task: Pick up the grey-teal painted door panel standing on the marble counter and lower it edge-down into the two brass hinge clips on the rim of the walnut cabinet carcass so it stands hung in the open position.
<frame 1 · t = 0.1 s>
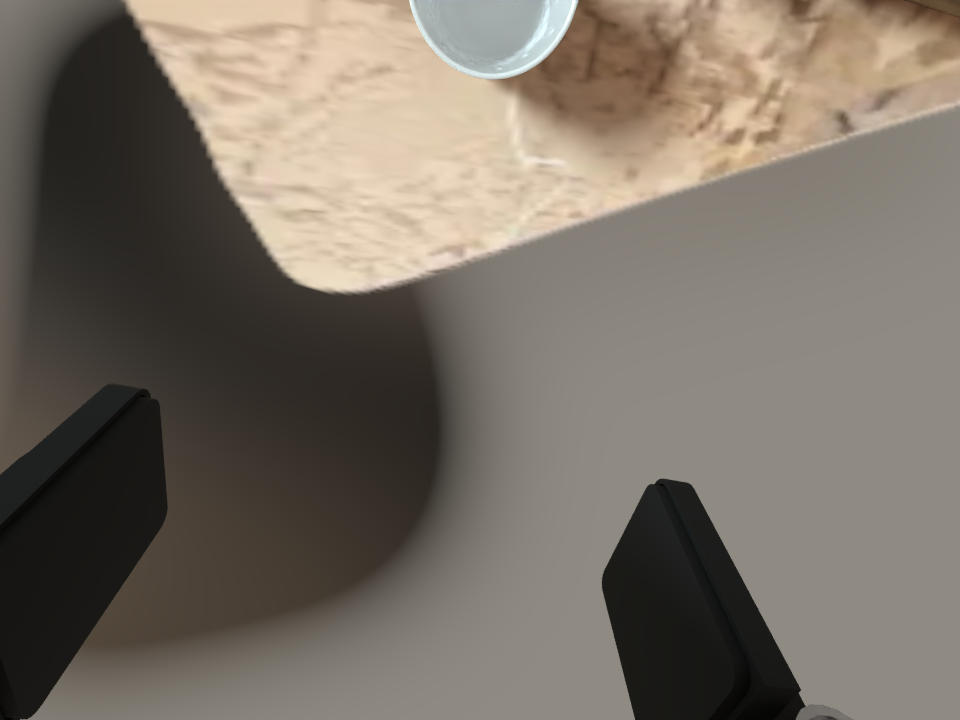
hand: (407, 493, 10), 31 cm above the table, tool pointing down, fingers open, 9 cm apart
white cup: (487, 4, 32), on the table
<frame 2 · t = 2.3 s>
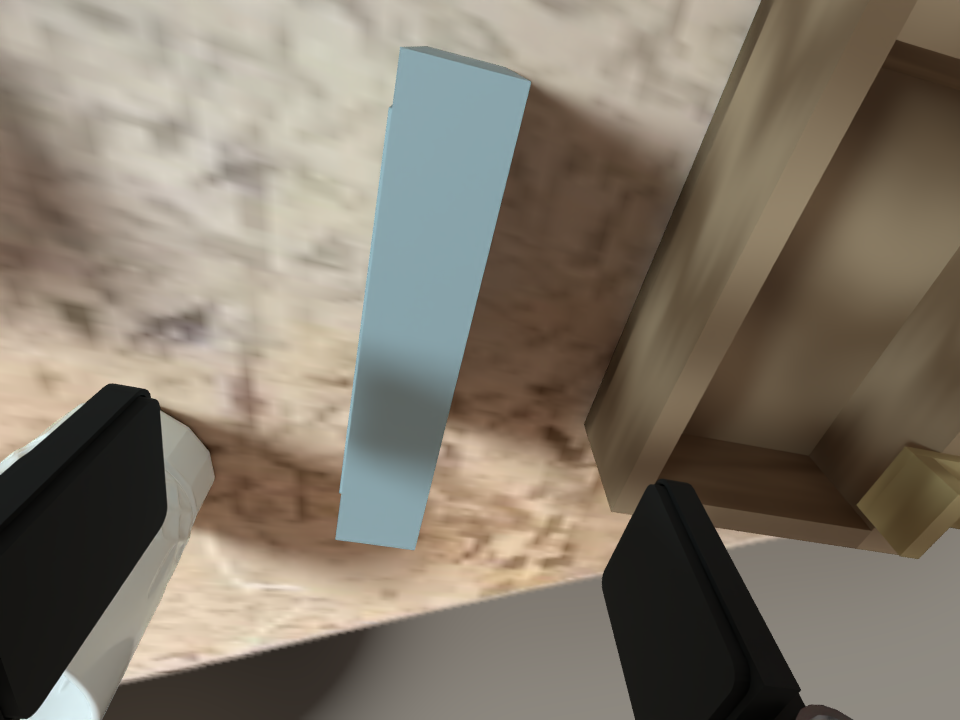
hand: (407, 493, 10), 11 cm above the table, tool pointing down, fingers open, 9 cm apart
carcass: (802, 286, 20), on the table
white cup: (140, 455, 24), on the table
door: (428, 258, 19), on the table
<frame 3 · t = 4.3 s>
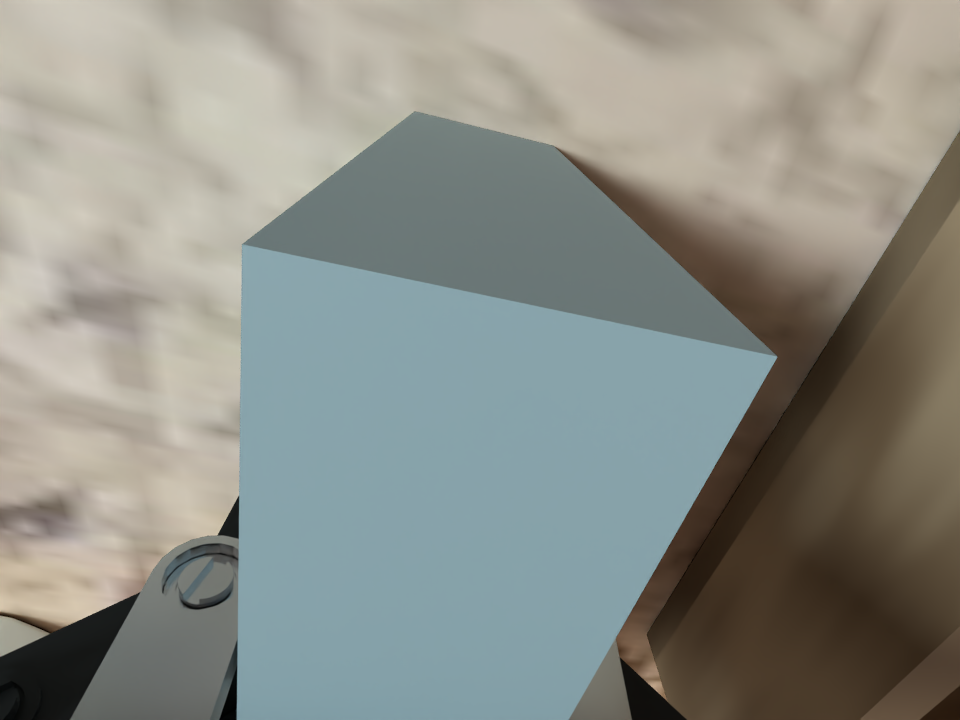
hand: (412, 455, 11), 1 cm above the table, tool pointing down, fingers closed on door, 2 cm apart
white cup: (2, 668, 16), on the table
door: (419, 432, 12), on the table, touching gripper
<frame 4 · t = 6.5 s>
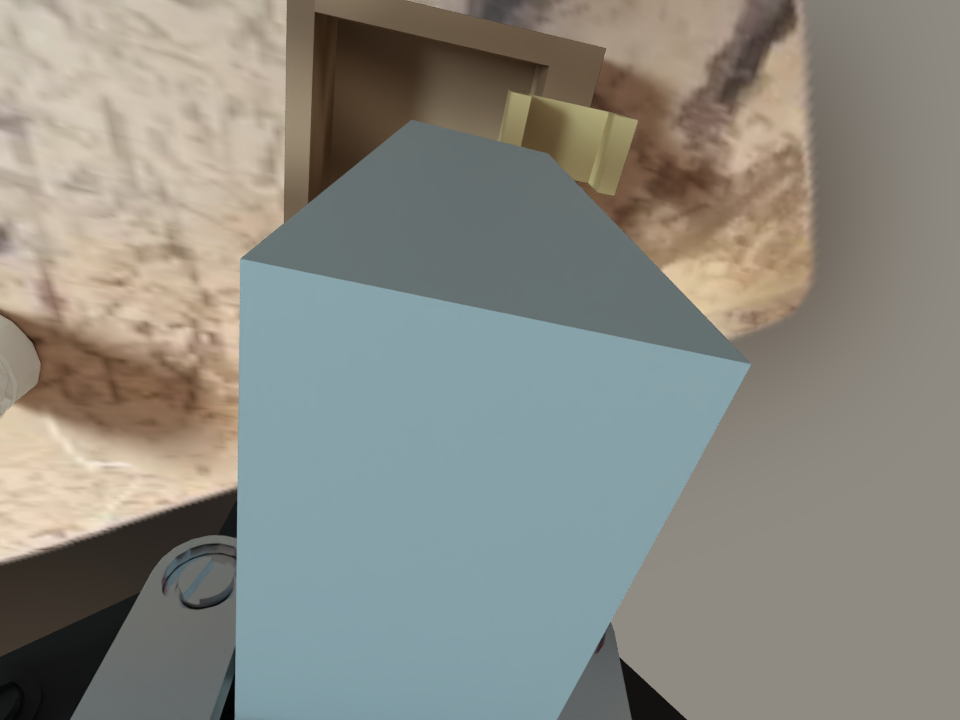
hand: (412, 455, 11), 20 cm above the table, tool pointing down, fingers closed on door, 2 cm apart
carcass: (428, 196, 28), on the table
door: (416, 436, 12), point 19 cm above the table, touching gripper
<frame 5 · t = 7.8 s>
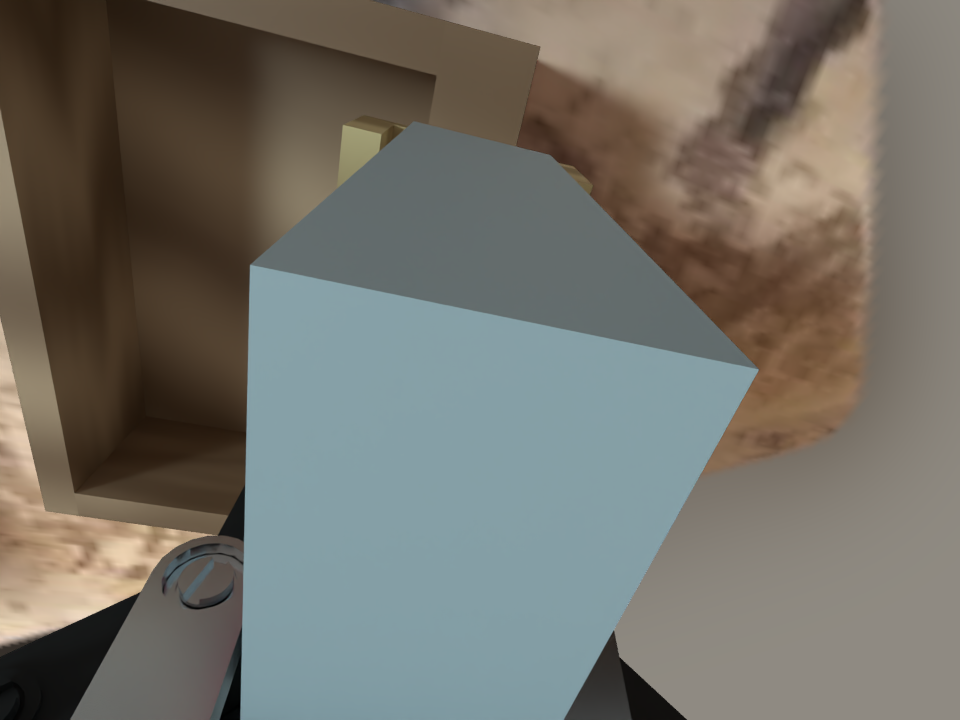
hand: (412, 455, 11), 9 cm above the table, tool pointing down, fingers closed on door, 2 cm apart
carcass: (294, 266, 18), on the table
door: (418, 437, 12), point 8 cm above the table, touching gripper
when the fingers open (7 cm above the table, at t = 8.7 s): door stays where it is, resting on carcass.
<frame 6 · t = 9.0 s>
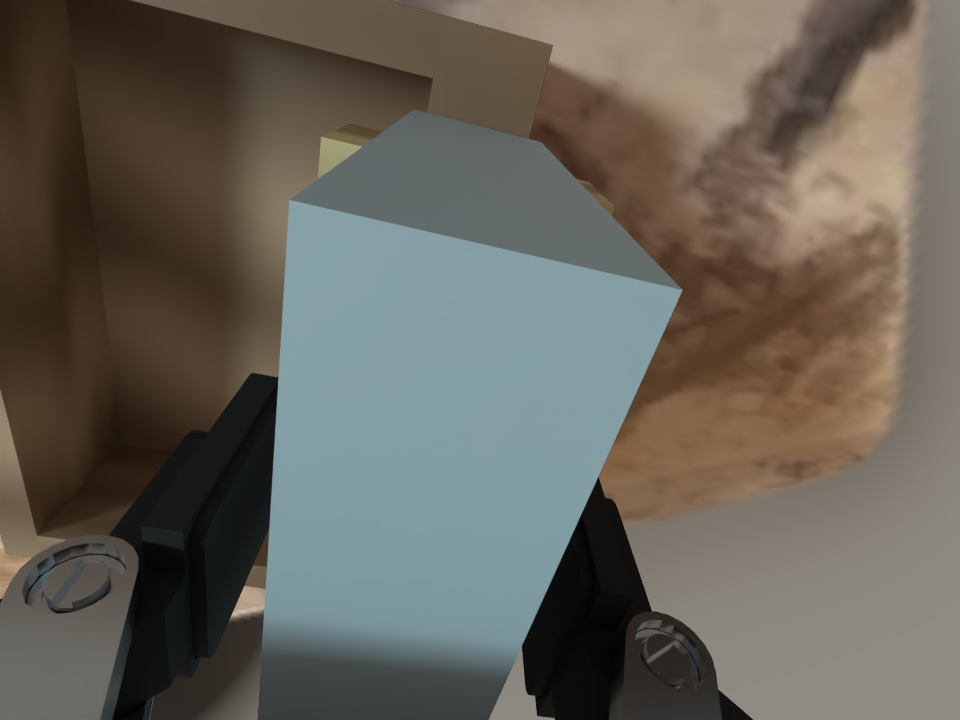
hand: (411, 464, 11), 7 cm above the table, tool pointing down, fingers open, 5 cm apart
carcass: (279, 285, 17), on the table
door: (416, 410, 13), point 5 cm above the table, touching carcass
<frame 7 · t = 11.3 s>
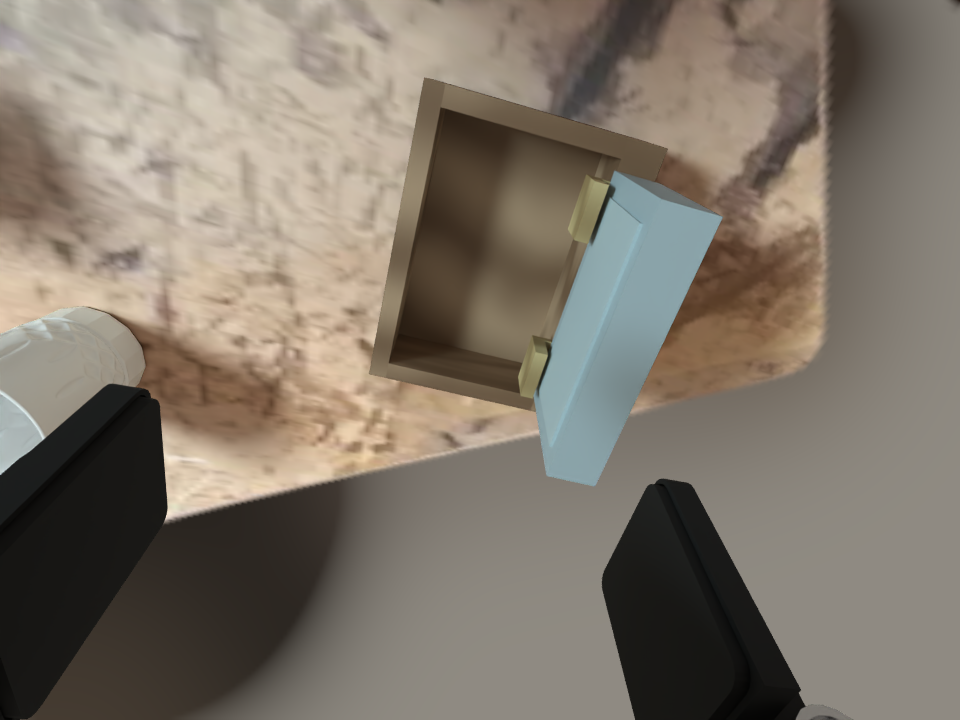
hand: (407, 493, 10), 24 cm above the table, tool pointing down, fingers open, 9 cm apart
carcass: (500, 248, 33), on the table
white cup: (98, 349, 36), on the table
door: (590, 298, 28), point 5 cm above the table, touching carcass
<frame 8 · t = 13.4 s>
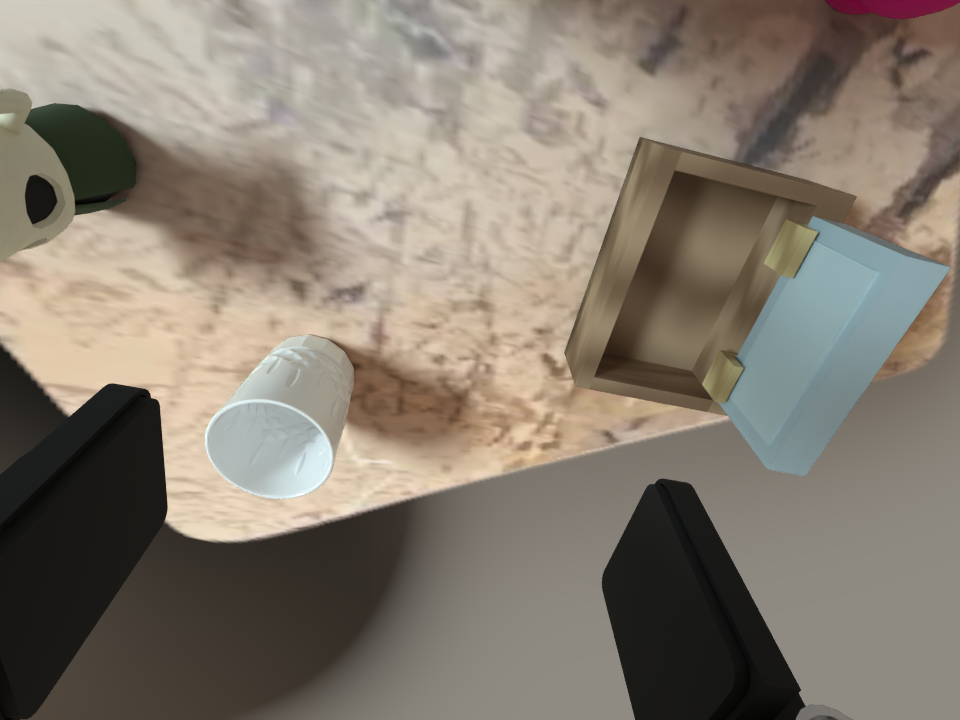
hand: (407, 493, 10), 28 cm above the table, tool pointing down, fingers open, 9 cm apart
carcass: (676, 273, 38), on the table
character mug: (91, 156, 34), on the table
white cup: (313, 370, 42), on the table
door: (776, 318, 34), point 5 cm above the table, touching carcass
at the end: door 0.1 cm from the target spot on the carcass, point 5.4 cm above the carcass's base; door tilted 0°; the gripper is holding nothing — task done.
